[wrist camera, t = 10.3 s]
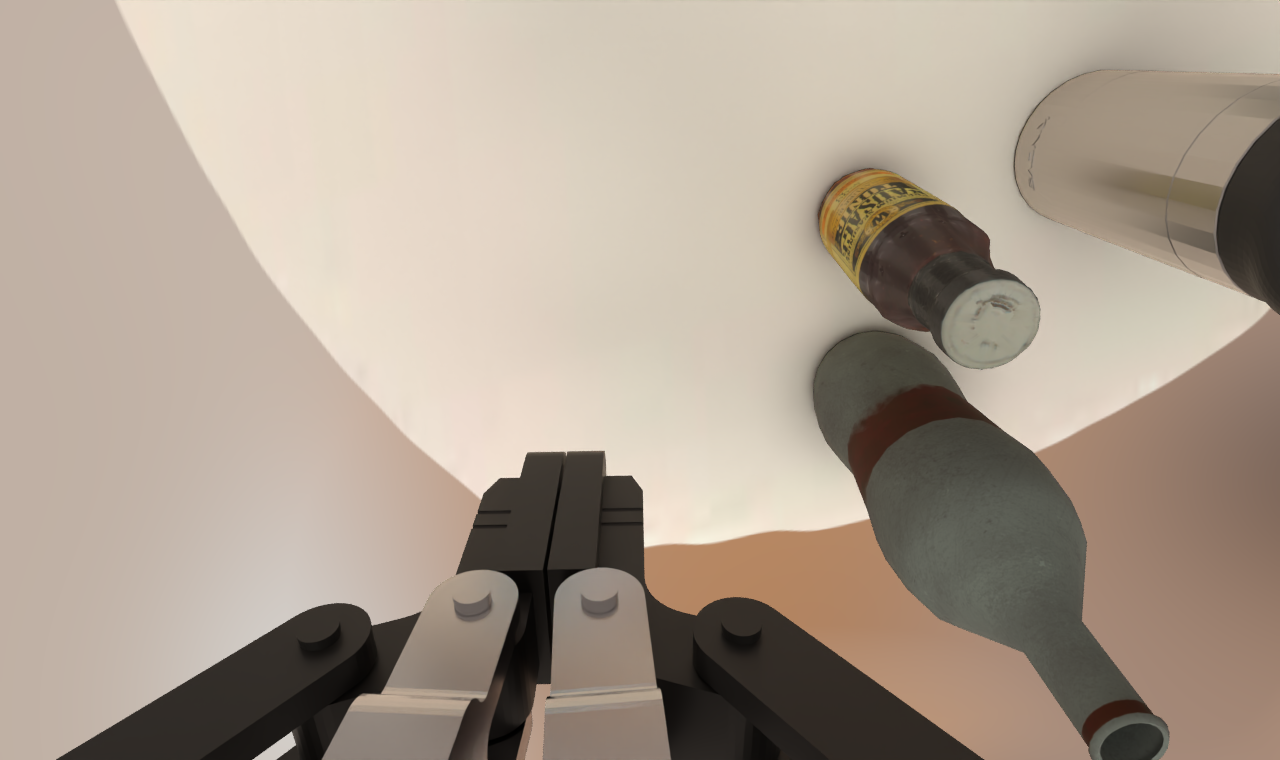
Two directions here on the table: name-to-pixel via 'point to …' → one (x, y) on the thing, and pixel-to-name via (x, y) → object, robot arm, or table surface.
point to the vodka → (976, 528)
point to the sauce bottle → (927, 268)
